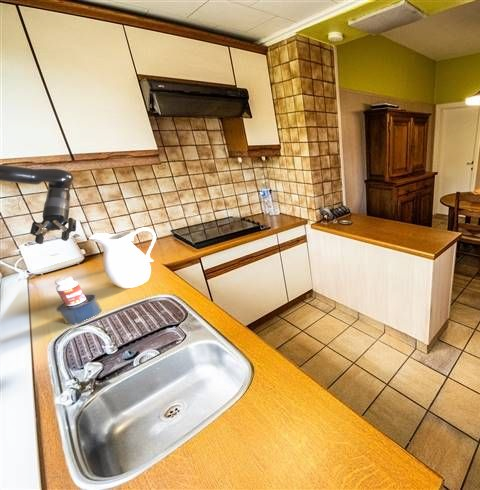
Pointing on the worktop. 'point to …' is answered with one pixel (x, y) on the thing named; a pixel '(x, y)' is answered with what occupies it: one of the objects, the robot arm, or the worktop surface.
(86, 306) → the crock
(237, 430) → the worktop surface
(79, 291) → the pill bottle
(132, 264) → the pitcher
